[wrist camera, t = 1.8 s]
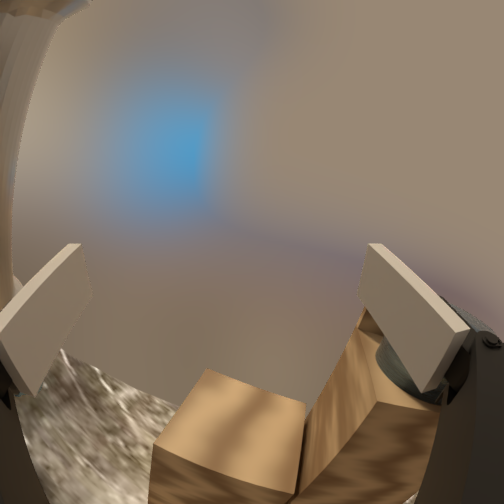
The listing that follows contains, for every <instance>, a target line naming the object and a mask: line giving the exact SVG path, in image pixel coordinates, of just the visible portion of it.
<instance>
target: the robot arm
mask: <svg viewBox="0 0 504 504" xmlns="http://www.w3.org/2000/svg"><path fill="white" fill-rule="evenodd" d="M91 2H92V0H0V504H49V502H48V500H47V497H46V495H45V493H44V491H43V489H42V486H41V484H40V481H39V479H38V477H37V474H36V472H35V469H34V466H33V464H32V461H31V458H30V455H29V452H28V449H27V446H26V443H25V439H24V436H23V433H22V429H21V425H20V421H19V417H18V413H17V409H16V404H15V400H14V395H15V396H18V397H20V396H21V395H29V396H32V397H35V396H36V394H37V393H38V392H40V390H41V388H42V384H43V380H44V378H45V376H46V374H47V372H48V371H49V369H50V367H51V365H52V363H53V361H54V359H55V358H56V356H57V354H58V352H59V350H60V349H61V347H62V345H63V343H64V342H65V340H66V338H67V337H68V335H69V333H70V331H71V330H72V328H73V327H74V325H75V323H76V322H77V320H78V318H79V317H80V315H81V314H82V312H83V311H84V309H85V307H86V306H87V304H88V303H89V301H90V299H91V298H92V296H93V292H92V288H91V284H90V280H89V276H88V272H87V267H86V263H85V258H84V253H83V249H82V244H68V245H67V246H66V247H65V248H64V249H62V250H61V251H60V252H59V253H58V254H57V255H56V256H55V257H54V258H53V259H52V260H50V261H49V262H48V263H47V264H46V265H45V266H44V267H43V268H42V269H41V270H40V271H39V272H38V273H37V274H36V275H35V276H34V277H33V278H32V279H31V280H30V281H29V282H28V283H27V284H26V285H25V286H24V287H23V285H22V284H21V283H20V281H19V280H18V279H17V278H16V277H15V276H14V275H13V267H12V207H13V193H14V183H15V174H16V167H17V160H18V153H19V148H20V142H21V137H22V132H23V128H24V123H25V119H26V115H27V111H28V107H29V104H30V100H31V96H32V93H33V90H34V86H35V83H36V80H37V77H38V74H39V72H40V69H41V66H42V63H43V61H44V58H45V56H46V53H47V51H48V48H49V46H50V43H51V41H52V39H53V37H54V34H55V32H56V30H57V28H58V26H59V25H60V24H61V23H62V22H63V21H64V20H65V19H67V18H69V17H70V16H72V15H74V14H76V13H78V12H80V11H82V10H84V9H86V8H87V7H88V6H89V5H90V3H91ZM357 296H358V297H359V298H360V300H361V301H362V303H363V304H364V306H365V307H366V309H367V310H368V311H369V313H370V314H371V316H372V317H373V319H374V320H375V322H376V323H377V325H378V326H379V328H380V329H381V331H382V332H383V334H384V335H385V337H386V338H387V340H388V341H389V343H390V344H391V346H392V347H393V349H394V351H395V352H396V354H397V355H398V357H399V358H400V360H401V362H402V363H403V365H404V366H405V368H406V369H407V371H408V373H409V374H410V376H411V378H412V379H413V381H414V383H415V384H416V386H417V387H418V389H419V391H420V392H421V393H424V392H427V391H430V390H433V389H436V388H437V387H438V385H439V383H440V382H441V380H442V379H443V377H445V379H446V380H447V381H448V383H447V384H446V386H445V387H444V389H443V390H442V392H441V393H440V395H439V396H438V398H437V399H436V401H435V404H437V403H438V402H439V401H440V399H442V403H441V410H440V415H439V421H438V425H437V430H436V434H435V439H434V443H433V447H432V451H431V454H430V458H429V461H428V465H427V468H426V471H425V474H424V478H423V481H422V483H421V486H420V489H419V492H418V495H417V497H416V500H415V502H414V504H504V343H502V341H501V340H500V339H499V338H498V337H497V336H496V335H495V334H493V333H491V332H489V331H479V332H476V331H475V330H474V329H473V328H472V327H471V325H470V324H469V323H468V322H467V321H466V320H465V319H464V318H463V317H462V316H461V315H460V314H459V313H457V311H456V310H455V309H454V308H453V307H451V305H450V304H449V303H448V302H447V301H446V300H445V299H444V298H443V297H441V296H439V295H438V294H436V293H435V292H434V291H433V290H432V289H431V288H430V287H429V286H428V285H427V284H426V283H425V282H424V281H422V280H421V279H420V278H419V277H418V276H417V275H416V274H415V273H414V272H413V271H412V270H411V269H409V268H408V267H407V266H406V265H405V264H404V263H403V262H402V261H400V259H398V258H397V257H396V256H395V255H394V254H393V253H392V252H390V251H389V250H388V249H387V248H386V247H385V246H384V245H382V244H368V246H367V251H366V256H365V260H364V265H363V270H362V274H361V278H360V283H359V287H358V291H357Z"/></svg>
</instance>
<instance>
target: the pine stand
mask: <svg viewBox="0 0 504 504" xmlns="http://www.w3.org/2000/svg"><path fill="white" fill-rule="evenodd" d="M383 337H384V334H383V332H382V331H381V329H380V328H379V326H378V325H377V323H376V322H375V320H374V319H373V317H372V316H371V314H370V313H369V311H368V310H367V309H366V307H364V309H363V311H362V313H361V316H360V318H359V320H358V322H357V325H356V327H355V329H354V331H353V333H352V335H351V337H350V339H349V341H348V343H347V346H346V347H345V349H344V351H343V353H342V355H341V357H340V360H339V361H338V363H337V365H336V367H335V369H334V371H333V372H332V374H331V376H330V378H329V380H328V382H327V383H326V385H325V387H324V389H323V390H322V392H321V394H320V396H319V397H318V399H317V401H316V403H315V404H314V406H313V408H312V409H311V411H310V413H309V414H308V416H307V417H306V419H305V409H306V403H302V402H299V401H296V400H293V399H289V398H286V397H283V396H280V395H277V394H274V393H271V392H268V391H265V390H262V389H259V388H256V387H254V386H251V385H248V384H245V383H243V382H240V381H238V380H235V379H232V378H230V377H227V376H224V375H222V374H220V373H217V372H215V371H212V370H210V369H208V368H207V369H206V370H205V372H204V373H203V375H202V376H201V378H200V379H199V380H198V382H197V383H196V385H195V386H194V388H193V389H192V390H191V392H190V393H189V395H188V396H187V398H186V399H185V401H184V402H183V403H182V405H181V406H180V407H179V409H178V410H177V412H176V413H175V414H174V416H173V417H172V419H171V420H170V421H169V423H168V424H167V426H166V427H165V428H164V430H163V431H162V433H161V434H160V435H159V437H158V438H157V439H156V441H155V442H154V443H153V452H152V461H151V471H150V482H149V494H148V504H403V503H404V502H405V501H406V500H408V499H409V498H410V497H411V496H413V495H414V494H415V493H416V492H417V491H419V489H420V486H421V483H422V481H423V478H424V474H425V471H426V468H427V465H428V461H429V458H430V454H431V451H432V447H433V443H434V439H435V434H436V430H437V425H438V421H439V415H440V410H441V406H439V405H434V404H430V403H427V402H424V401H422V400H419V399H417V398H415V397H413V396H411V395H410V394H408V393H406V392H405V391H403V390H402V389H400V388H399V387H398V386H396V385H395V384H394V383H393V382H392V381H391V380H390V379H388V377H387V376H386V375H385V374H384V373H383V372H382V370H381V369H380V367H379V366H378V364H377V361H376V358H375V353H376V350H377V349H378V347H379V345H380V343H381V341H382V339H383ZM304 419H305V421H304Z"/></svg>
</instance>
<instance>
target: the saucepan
mask: <svg viewBox="0 0 504 504" xmlns="http://www.w3.org/2000/svg"><path fill="white" fill-rule="evenodd" d="M448 303H449V302H448ZM449 304H450V305H451V307H453V308H454V309H455V310H456V311H457V313H459V314H460V315H461V316H462V317H463V318H464V319H465V320H466V321H467V322H468V323H469V324H470V325H471V327H472V328H473V329H474V330H475V331H476V332H479V331H489V332H491V333H493V334H495V333H494V331H493V330H492V329H491V328H489V327H488V326H487V325H486V324H485V323H483V322H482V321H480V320H479V319H477V318H476V317H474V316H473V315H471V314H469V313H468V312H466V311H464V310H462V309H461V308H459V307H457V306H455V305H453V304H451V303H449ZM495 335H496V334H495ZM496 336H497V335H496ZM375 358H376V361H377V364H378V366H379V367H380V369H381V370H382V372H383V373H384V374H385V375H386V376H387V377H388V379H390V380H391V381H392V382H393V383H394V384H395V385H396V386H398V387H399V388H400V389H402V390H403V391H405V392H406V393H408V394H410V395H411V396H413V397H415V398H417V399H419V400H422V401H424V402H427V403H430V404H434V405H439V406H441V403H442V399H440V401H439V402H438V403H437V404H435V401H436V399H437V398H438V396H439V395H440V393H441V392H442V390H443V389H444V387H445V386H446V384H447V383H448V381H447V380H446V379H445V377H443V379H442V380H441V382H440V383H439V385H438V387H437V388H436V389H433V390H430V391H427V392H424V393H421V392H420V391H419V389H418V387H417V386H416V384H415V383H414V381H413V379H412V378H411V376H410V374H409V373H408V371H407V369H406V368H405V366H404V365H403V363H402V362H401V360H400V358H399V357H398V355H397V354H396V352H395V351H394V349H393V347H392V346H391V344H390V343H389V341H388V340H387V338H386V337H385V335H384V337H383V339H382V341H381V343H380V345H379V347H378V349H377V350H376V353H375Z"/></svg>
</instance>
